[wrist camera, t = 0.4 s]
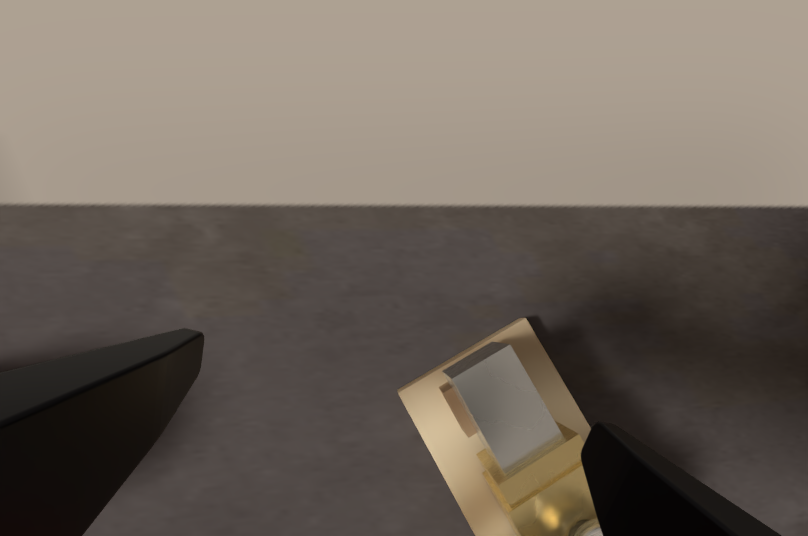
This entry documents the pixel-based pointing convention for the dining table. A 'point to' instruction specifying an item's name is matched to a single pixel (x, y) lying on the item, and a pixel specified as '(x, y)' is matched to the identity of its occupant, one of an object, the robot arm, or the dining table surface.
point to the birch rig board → (467, 448)
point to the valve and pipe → (522, 445)
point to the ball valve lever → (589, 529)
